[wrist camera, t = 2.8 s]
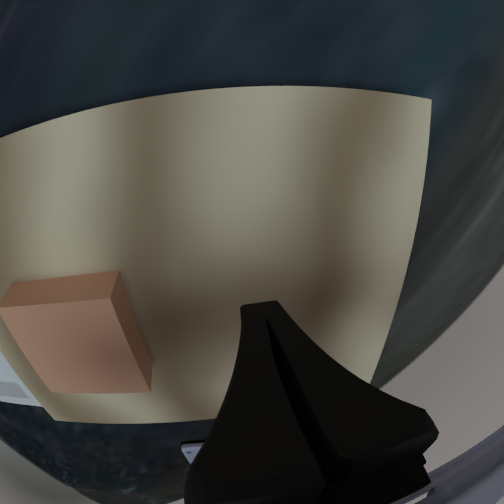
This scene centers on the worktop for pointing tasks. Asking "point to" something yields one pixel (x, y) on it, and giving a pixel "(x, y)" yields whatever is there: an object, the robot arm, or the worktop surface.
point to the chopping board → (218, 227)
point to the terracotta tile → (79, 333)
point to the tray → (13, 386)
